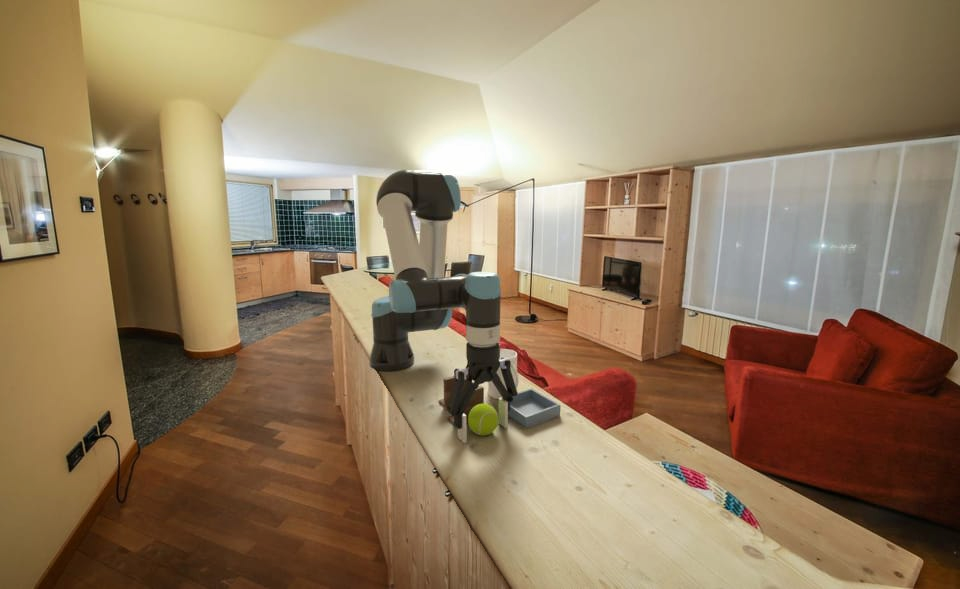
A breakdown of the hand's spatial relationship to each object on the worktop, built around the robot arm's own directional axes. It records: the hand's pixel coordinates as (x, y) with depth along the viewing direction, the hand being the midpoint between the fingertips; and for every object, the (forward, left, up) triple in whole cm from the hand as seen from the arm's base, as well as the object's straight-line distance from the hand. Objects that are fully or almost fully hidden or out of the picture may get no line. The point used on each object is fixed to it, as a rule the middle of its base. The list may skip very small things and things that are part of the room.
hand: (483, 432), depth 87 cm
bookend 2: (-8, 0, 0) cm, 8 cm away
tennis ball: (0, 0, 0) cm, 0 cm away
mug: (-13, +16, 0) cm, 20 cm away
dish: (-2, +15, 0) cm, 15 cm away
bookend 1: (-17, +2, 0) cm, 17 cm away
